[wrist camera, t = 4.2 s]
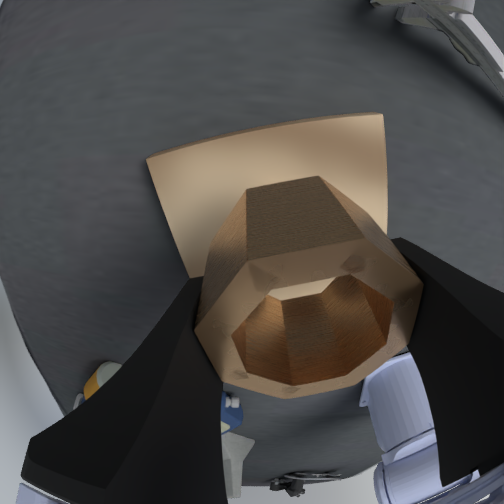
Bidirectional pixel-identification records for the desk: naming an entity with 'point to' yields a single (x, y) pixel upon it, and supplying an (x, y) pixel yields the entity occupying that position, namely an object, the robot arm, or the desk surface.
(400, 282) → the ring
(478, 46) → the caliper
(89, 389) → the toy blaster gun
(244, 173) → the wooden peg board
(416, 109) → the desk surface
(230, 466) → the barrier
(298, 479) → the bicycle component
